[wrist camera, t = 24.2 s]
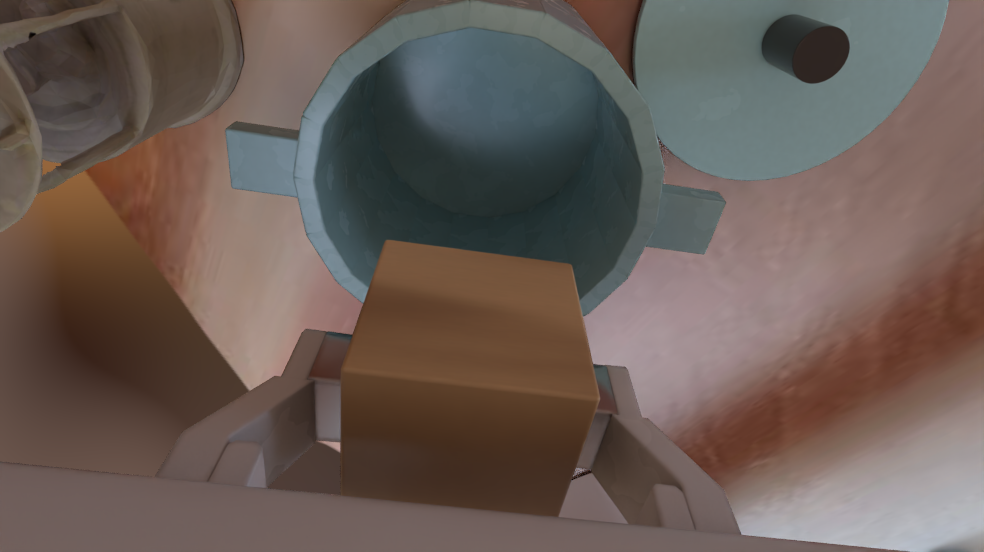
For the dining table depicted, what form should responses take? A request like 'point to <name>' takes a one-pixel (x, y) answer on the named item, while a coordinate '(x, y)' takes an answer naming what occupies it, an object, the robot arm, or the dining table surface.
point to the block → (466, 382)
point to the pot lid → (777, 77)
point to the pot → (478, 148)
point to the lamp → (103, 82)
